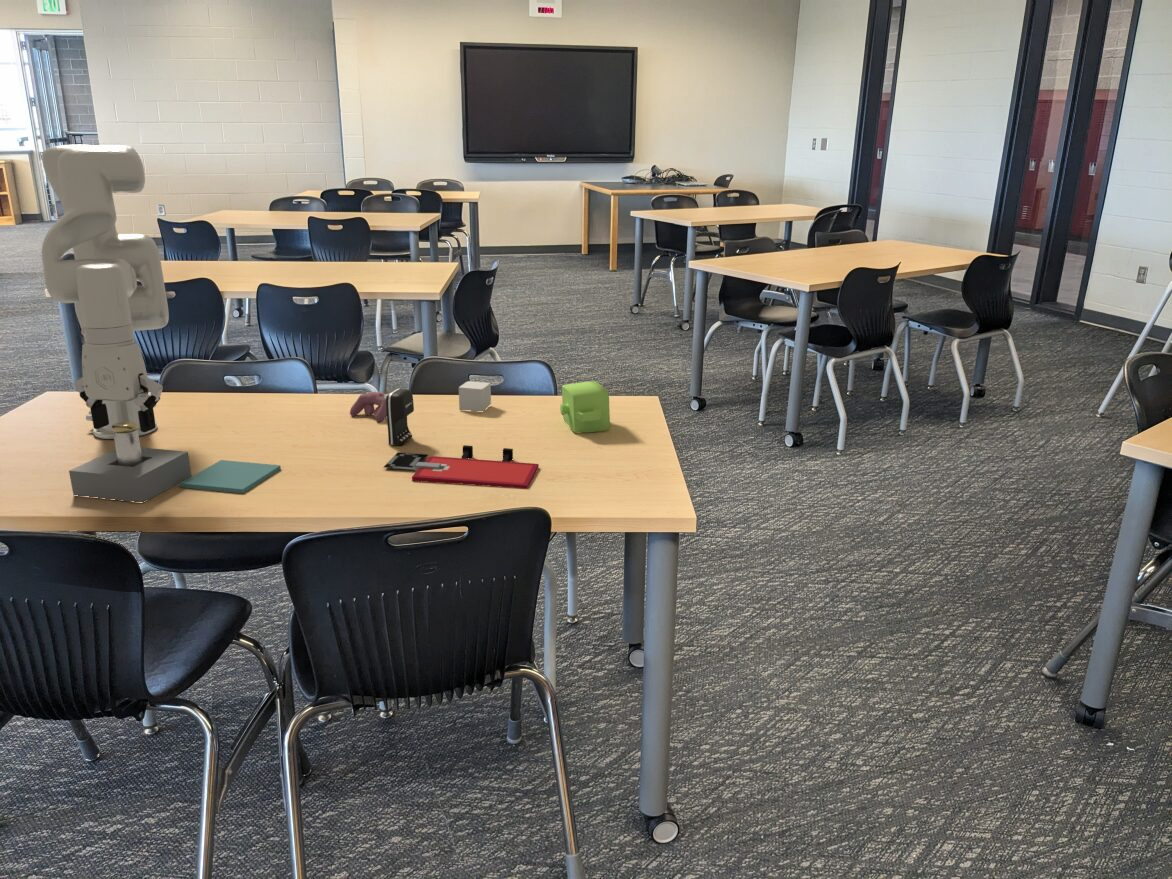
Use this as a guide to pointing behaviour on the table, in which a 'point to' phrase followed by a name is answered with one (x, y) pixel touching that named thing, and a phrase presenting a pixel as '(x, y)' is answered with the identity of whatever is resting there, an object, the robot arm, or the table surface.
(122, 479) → the block
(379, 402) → the video game controller
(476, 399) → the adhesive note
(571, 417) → the gearbox
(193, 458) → the table surface
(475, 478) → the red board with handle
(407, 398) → the battery charger
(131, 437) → the peg
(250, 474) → the mat
